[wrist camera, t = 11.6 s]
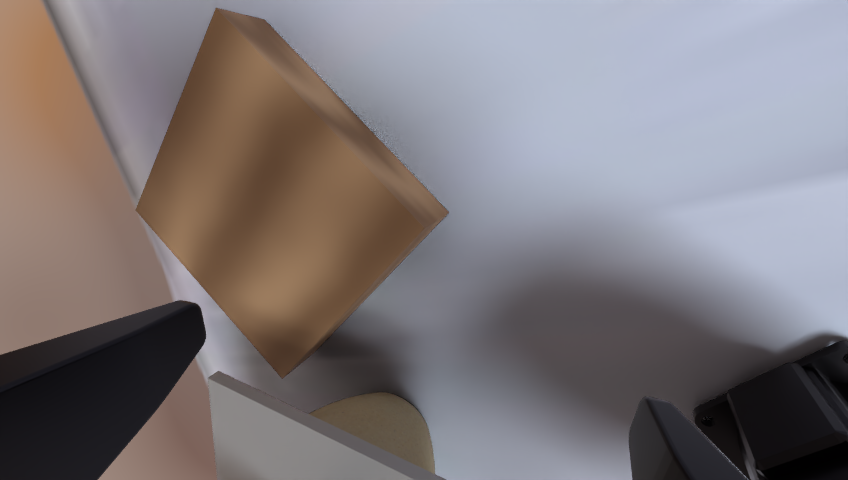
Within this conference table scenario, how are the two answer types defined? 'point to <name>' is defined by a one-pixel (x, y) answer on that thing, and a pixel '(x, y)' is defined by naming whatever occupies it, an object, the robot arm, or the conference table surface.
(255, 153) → the stand
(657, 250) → the conference table surface
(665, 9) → the conference table surface
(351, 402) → the flower pot
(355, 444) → the cover
